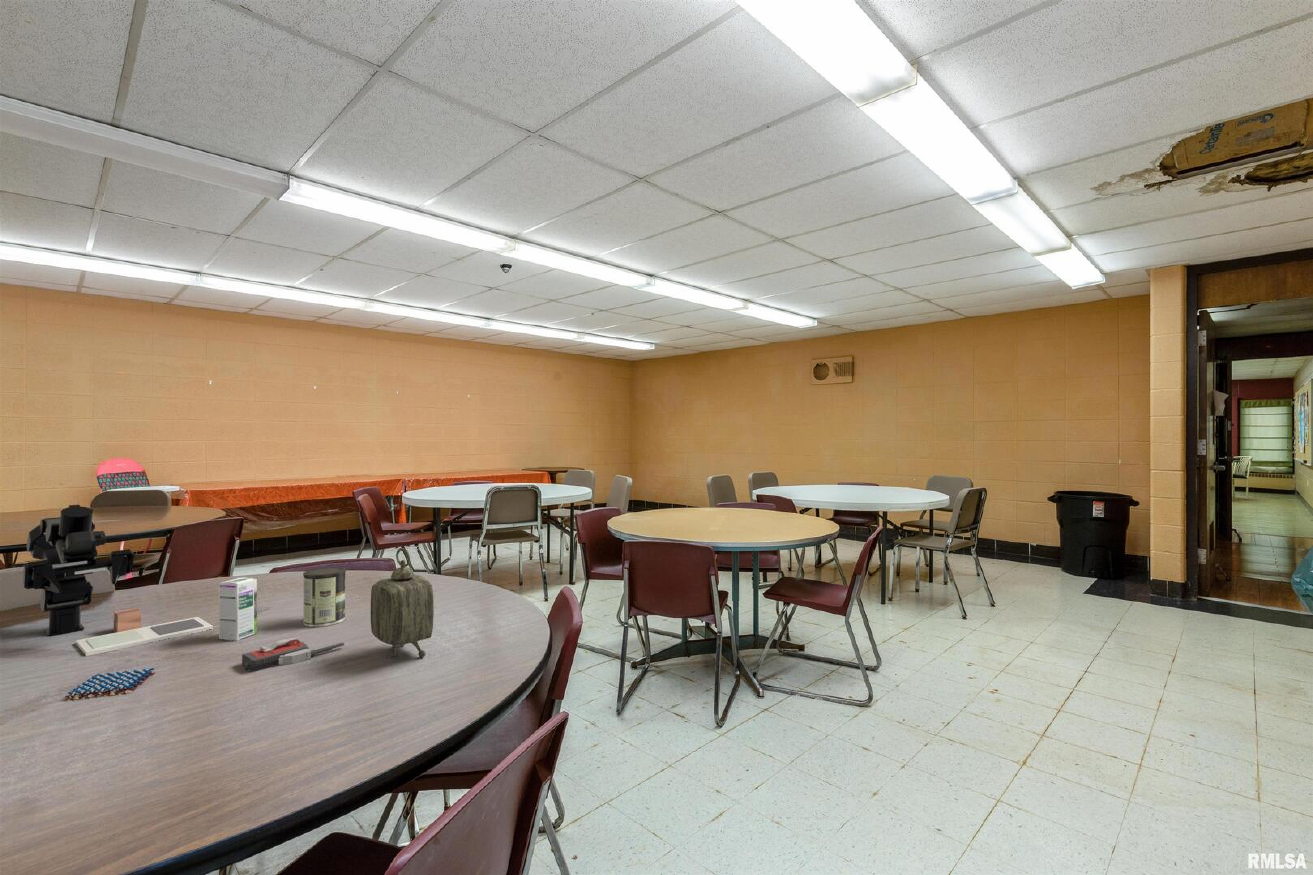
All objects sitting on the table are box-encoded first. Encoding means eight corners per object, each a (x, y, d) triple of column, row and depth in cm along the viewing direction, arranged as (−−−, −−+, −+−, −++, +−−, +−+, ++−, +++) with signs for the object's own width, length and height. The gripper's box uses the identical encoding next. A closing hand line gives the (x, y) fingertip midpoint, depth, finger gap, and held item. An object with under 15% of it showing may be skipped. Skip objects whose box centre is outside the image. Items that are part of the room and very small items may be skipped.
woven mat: (93, 682, 119) (93, 672, 119) (156, 675, 122) (156, 666, 122) (61, 704, 109) (61, 693, 109) (131, 696, 113) (131, 685, 113)
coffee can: (333, 613, 165) (333, 564, 165) (352, 619, 160) (353, 569, 160) (295, 622, 157) (295, 571, 157) (314, 629, 151) (315, 576, 151)
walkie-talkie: (249, 678, 121) (346, 650, 138) (250, 657, 121) (346, 632, 138) (234, 668, 126) (329, 642, 143) (234, 648, 126) (329, 625, 143)
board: (75, 643, 139) (75, 639, 139) (197, 619, 158) (197, 616, 158) (86, 656, 131) (86, 651, 131) (213, 629, 151) (213, 625, 151)
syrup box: (237, 641, 142) (237, 583, 142) (217, 639, 143) (218, 581, 143) (257, 633, 148) (258, 577, 148) (238, 632, 149) (239, 576, 149)
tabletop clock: (433, 657, 132) (434, 550, 133) (393, 668, 126) (394, 555, 126) (406, 642, 142) (407, 542, 142) (368, 651, 136) (369, 546, 136)
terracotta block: (113, 630, 149) (113, 611, 149) (136, 626, 153) (136, 607, 153) (117, 634, 146) (117, 615, 146) (140, 630, 150) (141, 611, 150)
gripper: (21, 529, 133) (31, 565, 125) (128, 519, 148) (143, 550, 140) (19, 570, 136) (28, 607, 127) (124, 556, 151) (139, 588, 142)
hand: (88, 586), depth 134 cm, fingers open, 9 cm apart
